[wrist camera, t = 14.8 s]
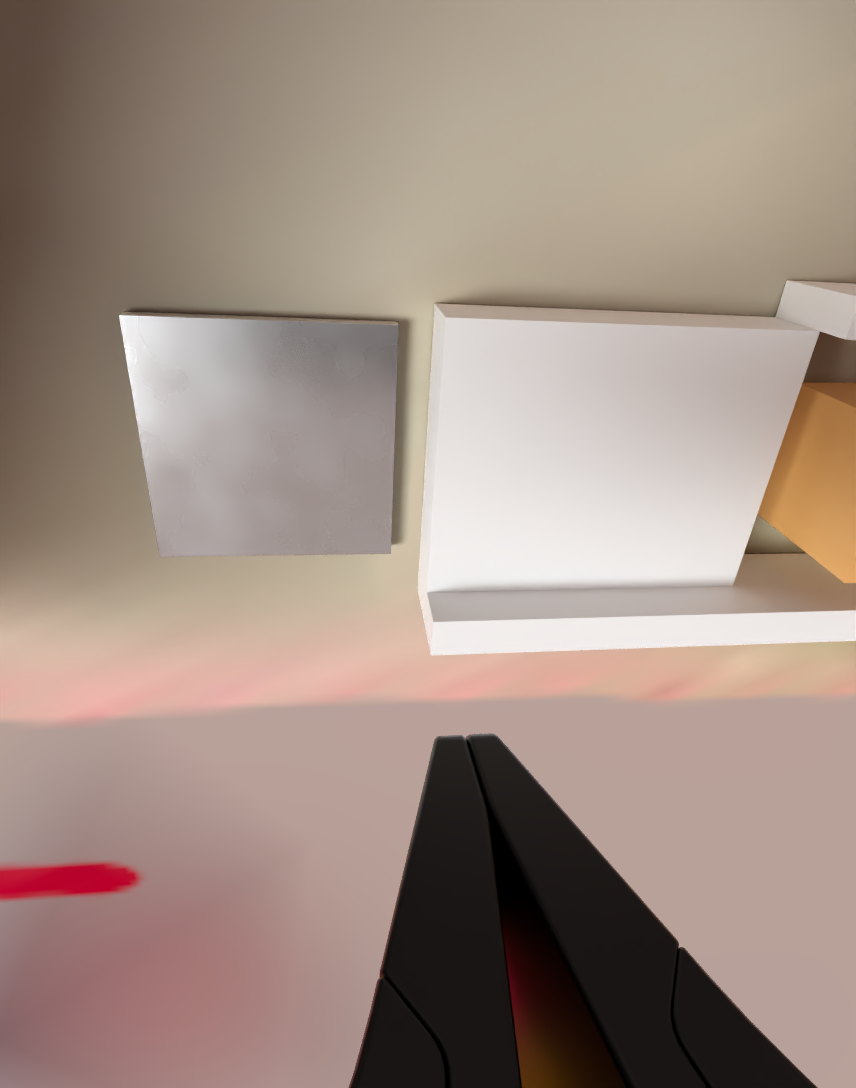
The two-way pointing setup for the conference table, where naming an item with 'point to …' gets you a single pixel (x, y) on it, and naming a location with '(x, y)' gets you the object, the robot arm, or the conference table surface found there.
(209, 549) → the plate
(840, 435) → the orange cube
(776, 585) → the white box
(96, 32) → the conference table surface
